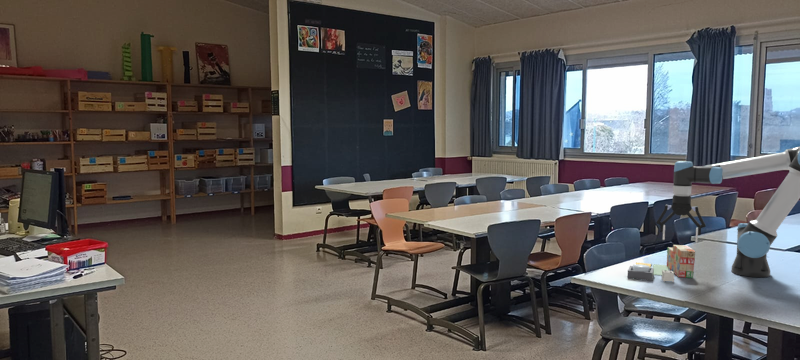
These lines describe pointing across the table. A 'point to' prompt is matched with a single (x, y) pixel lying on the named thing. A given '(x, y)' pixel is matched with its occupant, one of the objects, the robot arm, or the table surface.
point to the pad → (644, 264)
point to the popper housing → (641, 274)
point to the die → (667, 275)
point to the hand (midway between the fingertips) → (679, 240)
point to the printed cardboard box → (681, 260)
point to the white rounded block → (641, 268)
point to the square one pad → (659, 269)
